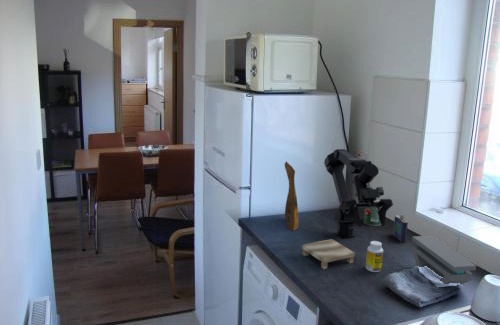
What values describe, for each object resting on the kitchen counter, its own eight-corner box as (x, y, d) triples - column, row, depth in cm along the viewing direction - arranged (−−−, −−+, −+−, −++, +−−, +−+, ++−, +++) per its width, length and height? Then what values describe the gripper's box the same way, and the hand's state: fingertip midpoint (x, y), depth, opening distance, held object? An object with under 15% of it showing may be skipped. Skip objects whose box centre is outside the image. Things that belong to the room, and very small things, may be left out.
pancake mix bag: (283, 232, 196) (287, 169, 189) (281, 217, 214) (284, 159, 208) (299, 232, 196) (303, 170, 189) (295, 217, 214) (299, 159, 208)
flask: (391, 234, 197) (394, 211, 195) (397, 234, 198) (400, 210, 195) (401, 242, 188) (404, 218, 186) (408, 242, 189) (411, 218, 186)
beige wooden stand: (301, 254, 174) (302, 244, 173) (331, 248, 180) (331, 239, 179) (323, 269, 162) (324, 259, 161) (354, 262, 168) (355, 252, 167)
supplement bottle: (373, 274, 160) (376, 247, 157) (362, 267, 164) (364, 241, 162) (384, 270, 163) (387, 244, 160) (372, 264, 167) (375, 238, 165)
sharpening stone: (471, 296, 147) (476, 265, 144) (449, 298, 145) (454, 267, 143) (428, 262, 171) (431, 235, 168) (409, 263, 169) (412, 236, 167)
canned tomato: (360, 221, 212) (362, 198, 210) (373, 219, 216) (375, 197, 213) (371, 226, 205) (373, 203, 203) (384, 224, 209) (387, 202, 206)
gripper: (347, 179, 167) (356, 218, 160) (393, 178, 171) (404, 217, 163) (337, 192, 177) (345, 230, 169) (382, 191, 180) (391, 228, 173)
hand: (372, 226), depth 168 cm, fingers open, 9 cm apart
